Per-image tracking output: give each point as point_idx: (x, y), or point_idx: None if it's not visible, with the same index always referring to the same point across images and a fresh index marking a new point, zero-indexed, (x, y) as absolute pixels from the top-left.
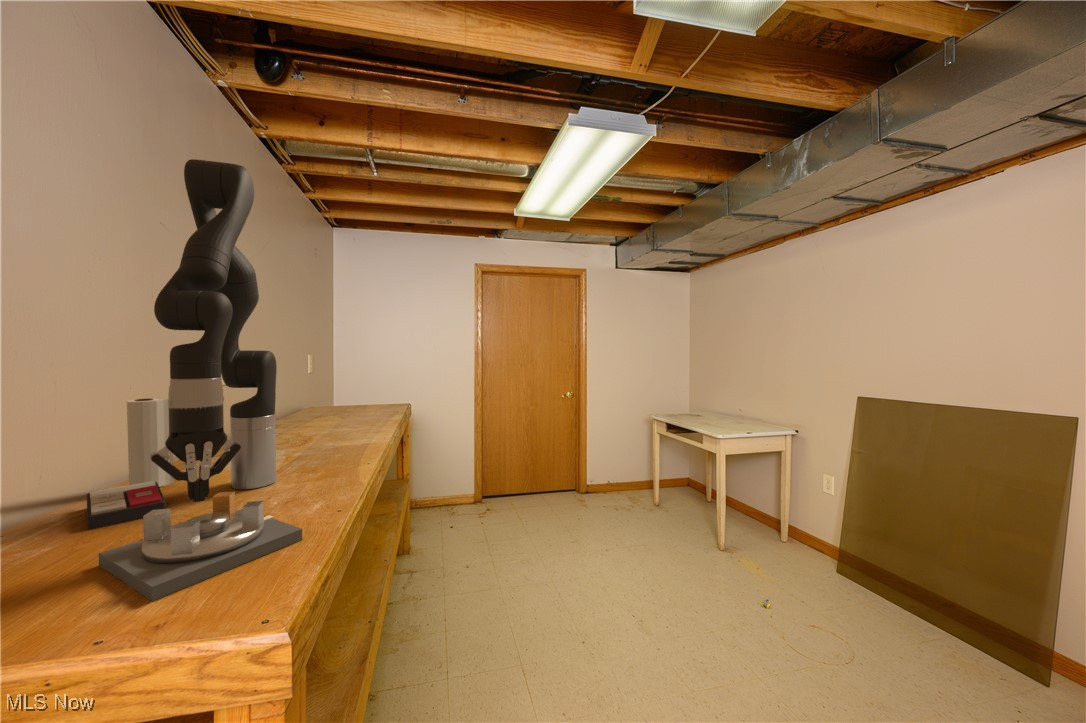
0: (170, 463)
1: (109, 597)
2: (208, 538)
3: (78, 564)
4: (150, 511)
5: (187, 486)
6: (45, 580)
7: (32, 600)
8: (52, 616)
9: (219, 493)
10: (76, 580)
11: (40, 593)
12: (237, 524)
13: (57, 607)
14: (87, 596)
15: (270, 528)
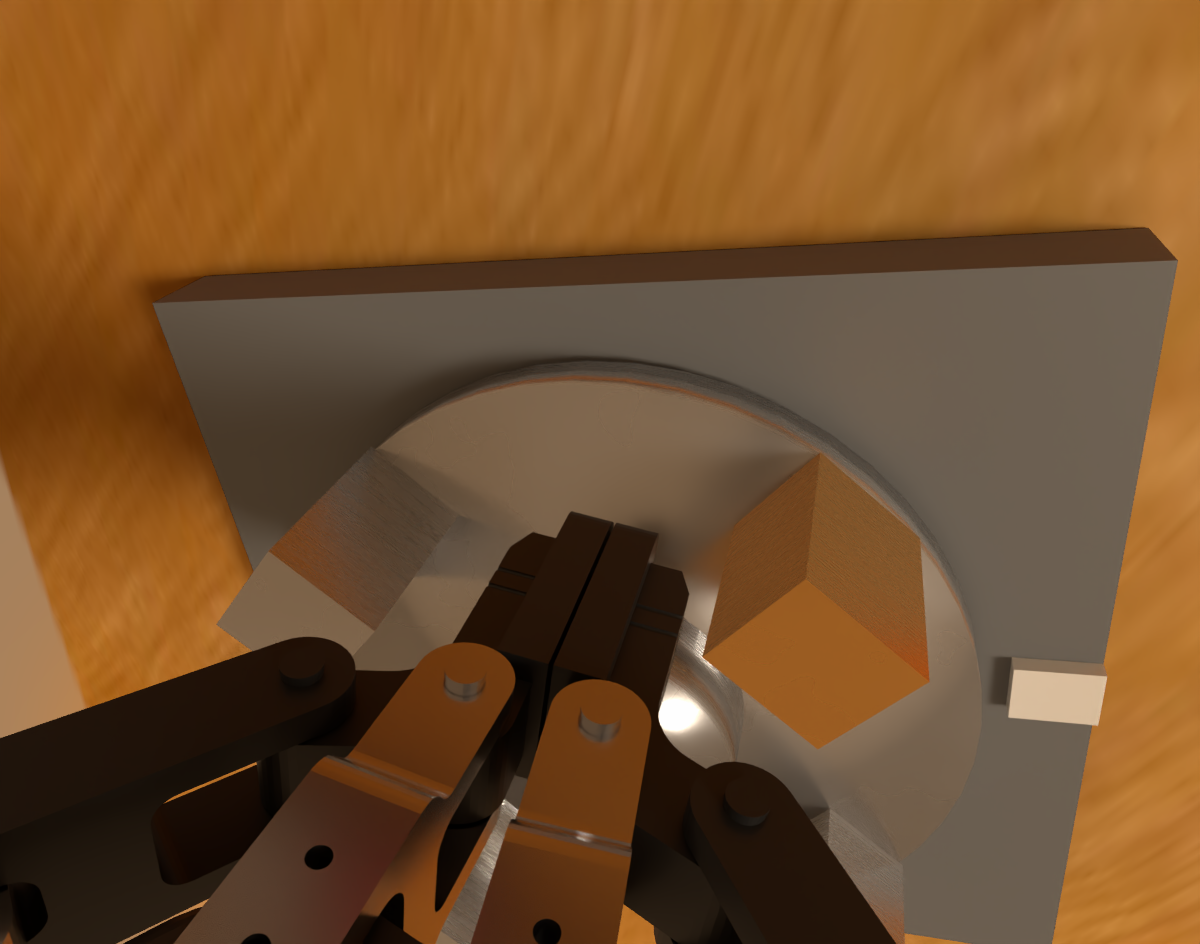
0: (98, 859)
1: None
2: None
3: (110, 141)
4: (255, 570)
5: (471, 613)
6: (22, 244)
7: (42, 435)
8: (138, 627)
9: (796, 614)
10: (145, 379)
11: (49, 390)
12: (788, 756)
13: (136, 577)
14: (208, 581)
15: (952, 814)
